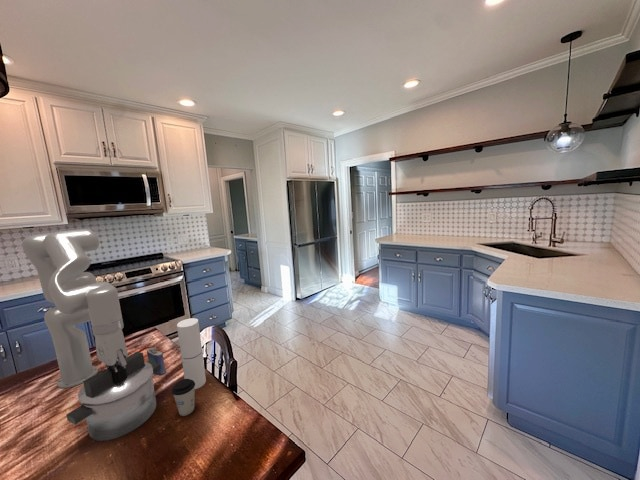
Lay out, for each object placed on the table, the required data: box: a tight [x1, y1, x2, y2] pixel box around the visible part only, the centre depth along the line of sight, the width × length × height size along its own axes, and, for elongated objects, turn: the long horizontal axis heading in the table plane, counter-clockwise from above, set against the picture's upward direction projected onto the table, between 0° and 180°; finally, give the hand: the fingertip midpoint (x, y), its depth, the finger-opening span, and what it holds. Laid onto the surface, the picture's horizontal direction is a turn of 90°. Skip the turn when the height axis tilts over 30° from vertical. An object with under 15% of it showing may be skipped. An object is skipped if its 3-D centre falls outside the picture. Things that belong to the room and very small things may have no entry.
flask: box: [146, 346, 166, 376], centre depth 109 cm, size 9×3×11 cm, turn 61°
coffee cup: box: [171, 378, 196, 417], centre depth 88 cm, size 7×7×10 cm
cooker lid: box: [77, 351, 154, 406], centre depth 85 cm, size 19×19×6 cm
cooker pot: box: [65, 362, 161, 442], centre depth 87 cm, size 18×26×12 cm
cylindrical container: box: [176, 317, 207, 390], centre depth 100 cm, size 7×7×25 cm
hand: (117, 378), depth 85 cm, fingers closed on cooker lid, 3 cm apart
